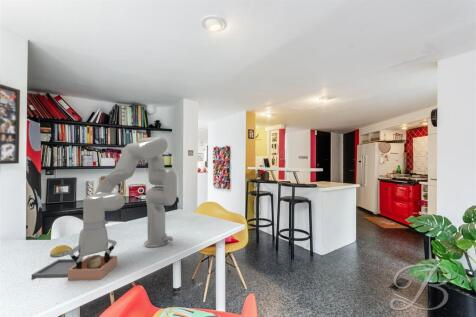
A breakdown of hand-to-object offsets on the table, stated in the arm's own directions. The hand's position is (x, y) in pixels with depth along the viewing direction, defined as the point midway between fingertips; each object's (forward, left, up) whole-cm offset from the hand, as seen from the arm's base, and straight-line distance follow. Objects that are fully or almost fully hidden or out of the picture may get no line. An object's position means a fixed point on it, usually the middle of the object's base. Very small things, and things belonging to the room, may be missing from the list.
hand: (93, 266), depth 94 cm
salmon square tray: (0, 0, -3) cm, 3 cm away
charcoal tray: (+15, -3, -3) cm, 16 cm away
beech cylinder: (0, 0, -2) cm, 2 cm away
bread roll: (+29, -21, -3) cm, 36 cm away
